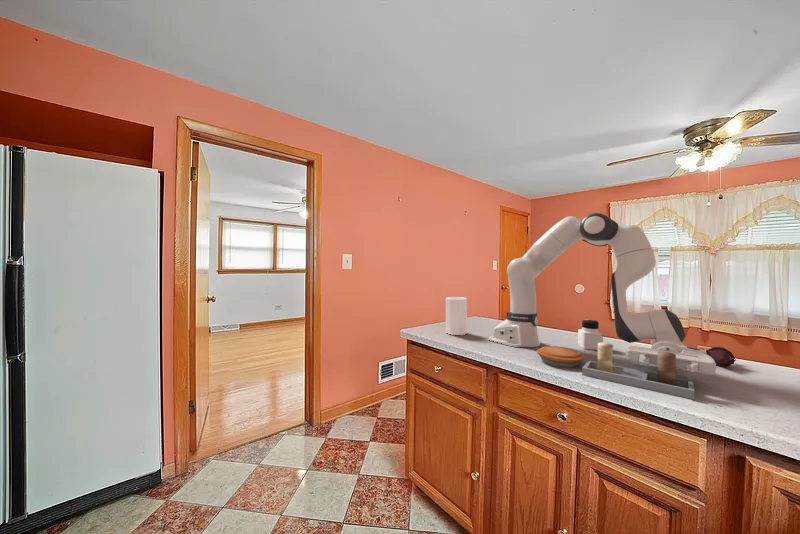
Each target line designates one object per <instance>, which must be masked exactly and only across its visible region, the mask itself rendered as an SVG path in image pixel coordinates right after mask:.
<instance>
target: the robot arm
mask: <svg viewBox="0 0 800 534" xmlns="http://www.w3.org/2000/svg"><path fill="white" fill-rule="evenodd" d="M579 241H582V242H584V243H588V244H590V245H592V246H594V247H606V246H610V247H611V248H612V250H613V252H614V256H615V259H616V269H615V271H614V272H613V273H611V277H610V278H611V279H610V287H611V296H612V297H611V298H612V304H613V313H614V324H613V326H614V332H615V334H616V335H617V338H618V339H620V340H622V341H624V342H626V343H629V344H632V343H633V344H634V343H638V342H642V341H651V340H653V342H652V344H651V347H650V348H649V347H644V346H636V345H632V346H629V347H627V348H626V351H625V358H626V360H627V361H630V362H637V363H642V365H647V366H649V365H652V366H657V352H669V353H673V354H675V355H676V371H686V372H687V373H691V374H694V373H696V374H697V373H698V374H703V375H710V376H715V375H716V373H717V366H716V363H715V361H714V359H713V358H712V357H711V356H709V355H707V353H706V350H704V349H700V348H697V347H691V346H689V345H684V344H685V343H684V340H685V338H686V333H685V329H684V326H683V324H682V322H681V320H680V318H679V317H678V315H677V314H676V313H674V312H673V311H671V310H669V309H666V308H664V309H657V310H656V309H655V310H654V309H653V310H649V311H642V312H637V313H636V312H635V313H629V312H628V311H629V310H628V302H627V296H626V295H627V290H628V288H629V287H631V285H633V284H634V283H636V282H637V281H640V280H641V279H643V278H645V277H647V276H648V275H649V274H650V273H651V272H652V271H653V270H654V268H655V267H656V263H657V261H656V256H655V252H654V250H653V247H652V245H651V243H650V241H649V239H648V237H647V235H646V234H645V232H644V230H643V229H642V228H641V227H640V226H638V225H635V224H627V225H622V226H619V223H618V222H617V221H615V220H613V219H612V218H611V217H610V216H608V215H606V214H604V213H601V212H594V213H593V212H592V213H591V214H588V215H586V216H585V217H583V218H582V220H581V219H579V218H577V217H575V216H571V215H569V216H565V217H564V218H562V219H561V220H560V221H558V222H556V223H555V224H554V225H553V226H551V227H550V228H549V229H548V230H547V231H546V232H545V233H544V234H542V235H541V236H540V238H538V239H537V240H536V241H535V242H534V243H533V244H532V245H531V246H530V248H529V249H528V250H527V251H526V253H524V255H523V256H522V257H516V258H514V259H513V260H511V261H510V262H509V263H508V266H507V268H506V272H507V279H508V287H509V295H510V296H509V297H510V302H509V305H510V307H509V308H510V310H509V311H508V312H505V314H504V316H505V317H506V319H504V320H503V321H502V322H500V323H498V324H497V325H496V326H495V327H494V328H493V333H492V335H489V336H488V339H487V341H489V340H490V341H489V342H493V341H494V342H493V343H497V342H498V343H497V344H501V343H502V345H505V346H509V347H513V348H534V347H539V346H541V342H540V339H539V335H538V323H539V322H538V319H539V318H538V312H537V292H536V283H535V279H536V278H538V276H539V275H540V274H542V273H543V272H544V271H545V270H546V269H547V268H548V267H549V266H550V265H551V264H553V262H554V261H555V260H556V259H557V258H559V257H560V256H561V255H562V254H563V253H565V251H567V250H568V249H569V248H570V247H571V246H572V245H574V243H576V242H579Z"/></svg>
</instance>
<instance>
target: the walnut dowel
mask: <svg viewBox="0 0 800 534" xmlns="http://www.w3.org/2000/svg"><path fill="white" fill-rule="evenodd" d="M656 366H657V369H656V370H657V371H656V373H657V382H659V383H664V384H668V385H673V386H676V377H677V370H676V355H675V354H673V353H669V352H657V365H656Z"/></svg>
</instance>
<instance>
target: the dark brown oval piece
mask: <svg viewBox="0 0 800 534" xmlns="http://www.w3.org/2000/svg"><path fill="white" fill-rule="evenodd" d="M705 351H706V353H707V355H709V356H711V357H712V358H713V359H714V361H715V363H716V367H722V368H727V367H730V366H731V365H734V364H735V361H736V358H735V356H734V354H733V353H732V352H731V351H730V350H728V349H726V348H725V347H723V346H722V347H721V346H714V347H710V348H708V349H706V350H705ZM734 359H735V360H734Z"/></svg>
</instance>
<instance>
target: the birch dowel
mask: <svg viewBox="0 0 800 534" xmlns="http://www.w3.org/2000/svg"><path fill="white" fill-rule="evenodd" d="M613 347H614V345H613V344H612V343H607V342H603V343H598V350H597V362H598V370H600V371H605V372H610V373H613V365H614V364H613V361H614V360H613V358H614V357H613V355H614V354H613V353H614V352H613V350H614V348H613Z"/></svg>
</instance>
